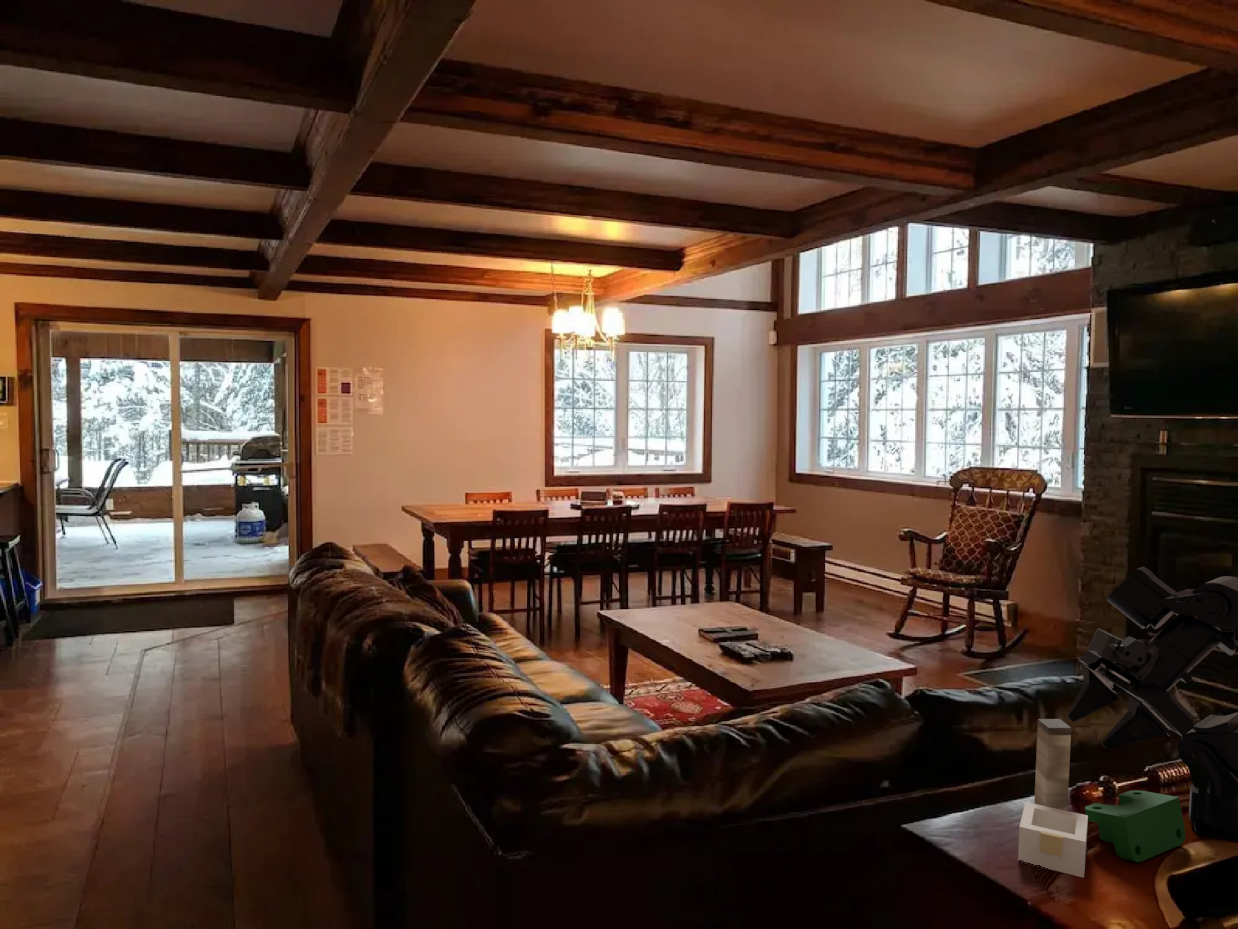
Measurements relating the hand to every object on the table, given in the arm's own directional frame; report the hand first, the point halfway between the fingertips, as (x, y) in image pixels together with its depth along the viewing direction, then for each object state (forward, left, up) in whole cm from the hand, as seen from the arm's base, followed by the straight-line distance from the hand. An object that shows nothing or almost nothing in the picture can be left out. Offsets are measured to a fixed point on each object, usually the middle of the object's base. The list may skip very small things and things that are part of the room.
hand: (1086, 732), depth 118 cm
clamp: (-6, +5, -12) cm, 14 cm away
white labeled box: (+3, +14, -12) cm, 18 cm away
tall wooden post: (+4, +3, -12) cm, 12 cm away
